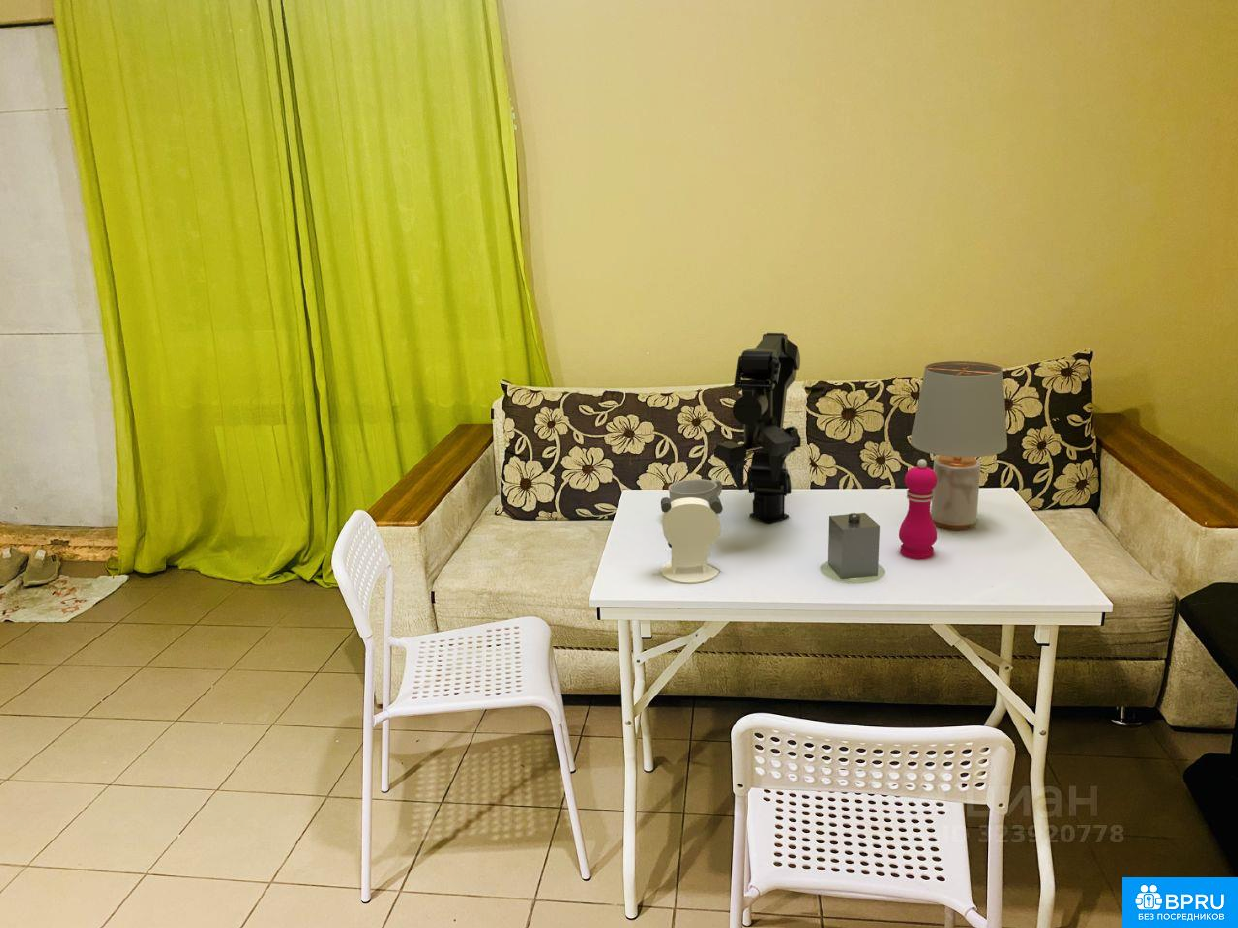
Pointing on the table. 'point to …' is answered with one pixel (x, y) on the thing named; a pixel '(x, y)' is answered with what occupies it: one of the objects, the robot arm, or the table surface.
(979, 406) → the lamp
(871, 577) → the plate
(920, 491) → the pepper mill
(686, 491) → the teacup
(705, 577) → the panda figurine
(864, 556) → the cover
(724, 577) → the table surface
